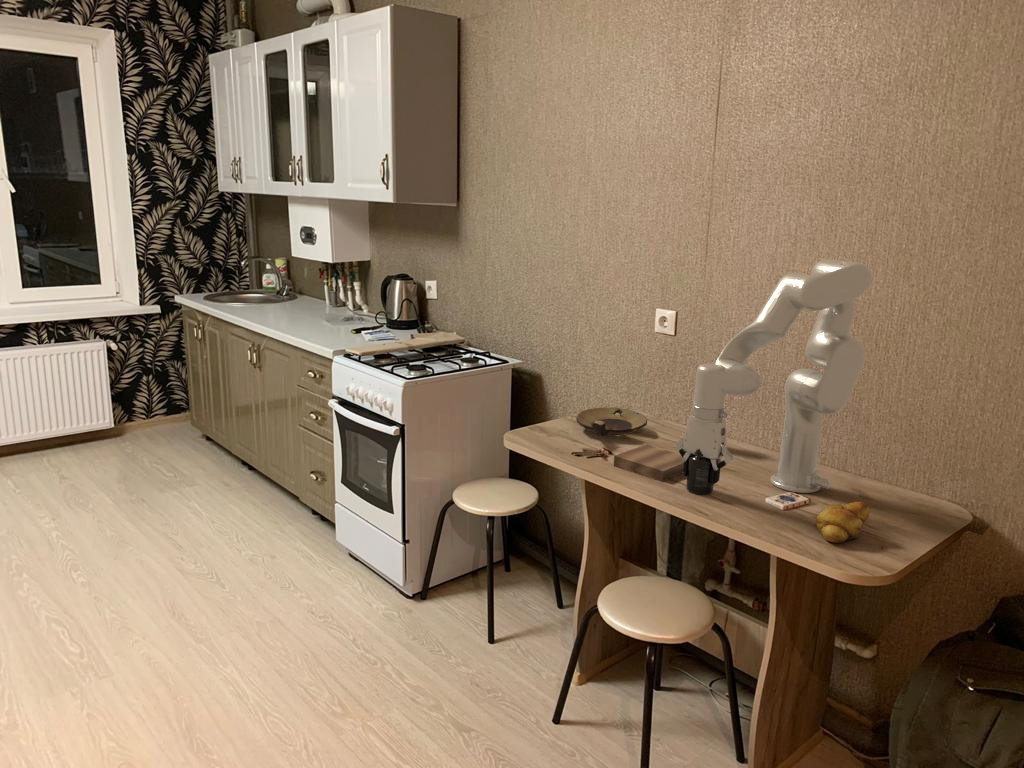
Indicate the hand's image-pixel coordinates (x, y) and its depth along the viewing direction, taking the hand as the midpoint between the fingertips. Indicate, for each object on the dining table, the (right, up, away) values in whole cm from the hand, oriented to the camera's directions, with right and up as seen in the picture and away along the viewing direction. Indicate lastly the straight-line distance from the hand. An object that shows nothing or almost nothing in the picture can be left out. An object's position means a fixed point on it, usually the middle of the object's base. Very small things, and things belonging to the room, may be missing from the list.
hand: (700, 478), depth 194 cm
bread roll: (+25, -10, -23) cm, 36 cm away
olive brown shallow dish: (-19, +8, +48) cm, 52 cm away
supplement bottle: (0, -3, +1) cm, 3 cm away
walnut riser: (-9, +1, +17) cm, 19 cm away
